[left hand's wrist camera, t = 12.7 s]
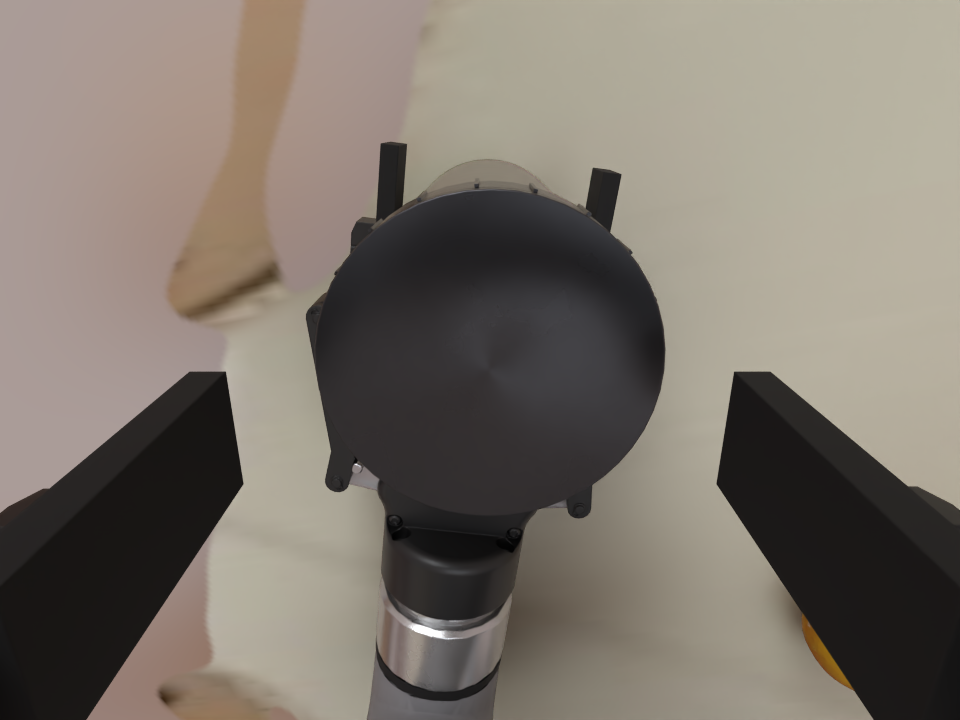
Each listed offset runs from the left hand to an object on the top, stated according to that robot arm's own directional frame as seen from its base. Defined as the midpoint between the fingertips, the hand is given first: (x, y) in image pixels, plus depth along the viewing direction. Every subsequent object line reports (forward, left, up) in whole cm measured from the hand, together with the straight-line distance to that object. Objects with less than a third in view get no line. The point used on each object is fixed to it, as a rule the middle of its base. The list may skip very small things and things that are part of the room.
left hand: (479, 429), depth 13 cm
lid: (0, 0, -3) cm, 3 cm away
